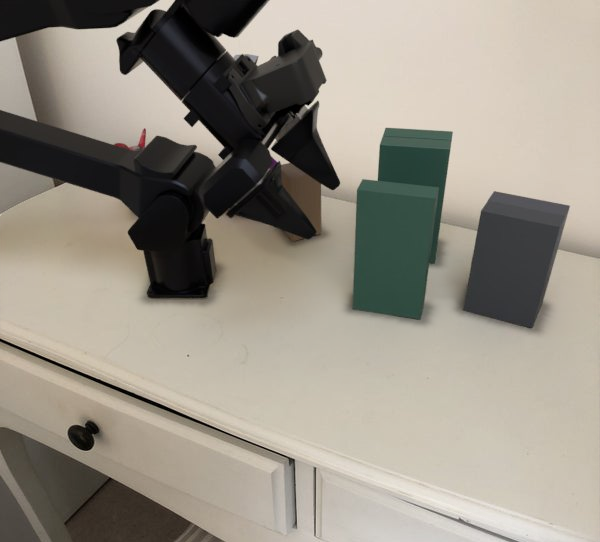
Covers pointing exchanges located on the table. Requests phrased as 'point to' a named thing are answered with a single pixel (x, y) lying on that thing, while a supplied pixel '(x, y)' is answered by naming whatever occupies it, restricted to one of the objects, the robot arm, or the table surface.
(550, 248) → the charcoal book
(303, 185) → the wooden block
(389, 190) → the green book
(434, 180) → the green book
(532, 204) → the charcoal book
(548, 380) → the table surface
